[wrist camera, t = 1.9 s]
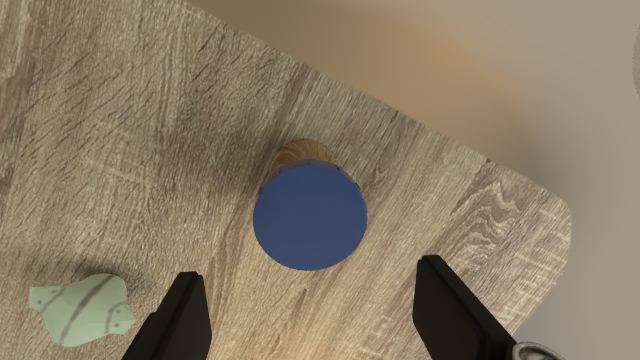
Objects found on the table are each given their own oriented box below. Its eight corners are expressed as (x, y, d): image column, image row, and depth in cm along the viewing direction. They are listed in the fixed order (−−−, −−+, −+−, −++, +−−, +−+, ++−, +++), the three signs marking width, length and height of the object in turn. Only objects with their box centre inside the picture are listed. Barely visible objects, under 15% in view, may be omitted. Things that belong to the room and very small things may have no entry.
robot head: (163, 277, 28) (126, 333, 22) (150, 309, 29) (110, 372, 23) (75, 247, 27) (7, 298, 20) (64, 282, 28) (-5, 342, 21)
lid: (307, 135, 17) (309, 141, 16) (382, 206, 19) (390, 217, 17) (233, 213, 18) (228, 225, 17) (311, 273, 20) (312, 289, 19)
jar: (303, 124, 25) (308, 145, 16) (352, 171, 27) (382, 214, 18) (255, 175, 26) (235, 221, 17) (305, 217, 28) (312, 280, 19)
